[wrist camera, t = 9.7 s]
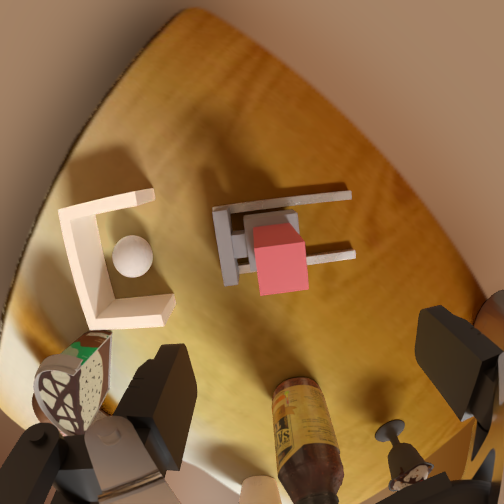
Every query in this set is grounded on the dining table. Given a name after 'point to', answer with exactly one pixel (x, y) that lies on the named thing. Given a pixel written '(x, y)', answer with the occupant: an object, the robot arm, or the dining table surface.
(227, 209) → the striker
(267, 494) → the dixie cup
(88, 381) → the food container
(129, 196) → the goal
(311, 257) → the track
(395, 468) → the sundae
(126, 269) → the sports ball
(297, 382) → the sauce bottle
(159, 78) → the dining table surface
